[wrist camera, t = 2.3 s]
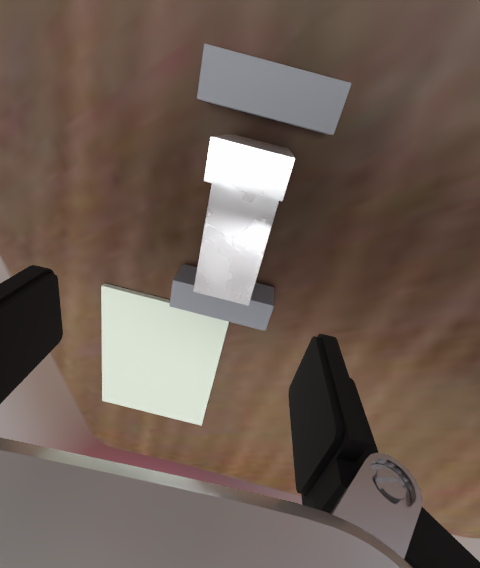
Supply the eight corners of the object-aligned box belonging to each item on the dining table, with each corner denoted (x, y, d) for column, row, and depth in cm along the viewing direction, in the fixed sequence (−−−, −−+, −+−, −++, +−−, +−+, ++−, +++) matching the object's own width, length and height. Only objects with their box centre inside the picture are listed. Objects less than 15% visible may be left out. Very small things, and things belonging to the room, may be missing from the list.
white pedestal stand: (288, 148, 20) (295, 158, 13) (253, 274, 25) (245, 327, 18) (232, 133, 20) (210, 136, 13) (208, 262, 25) (183, 311, 18)
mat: (230, 315, 27) (229, 318, 26) (202, 421, 34) (201, 425, 34) (104, 283, 27) (101, 285, 26) (104, 397, 34) (102, 400, 34)
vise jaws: (340, 89, 18) (351, 83, 15) (266, 310, 26) (265, 330, 23) (215, 55, 18) (204, 43, 15) (180, 288, 26) (169, 306, 23)
